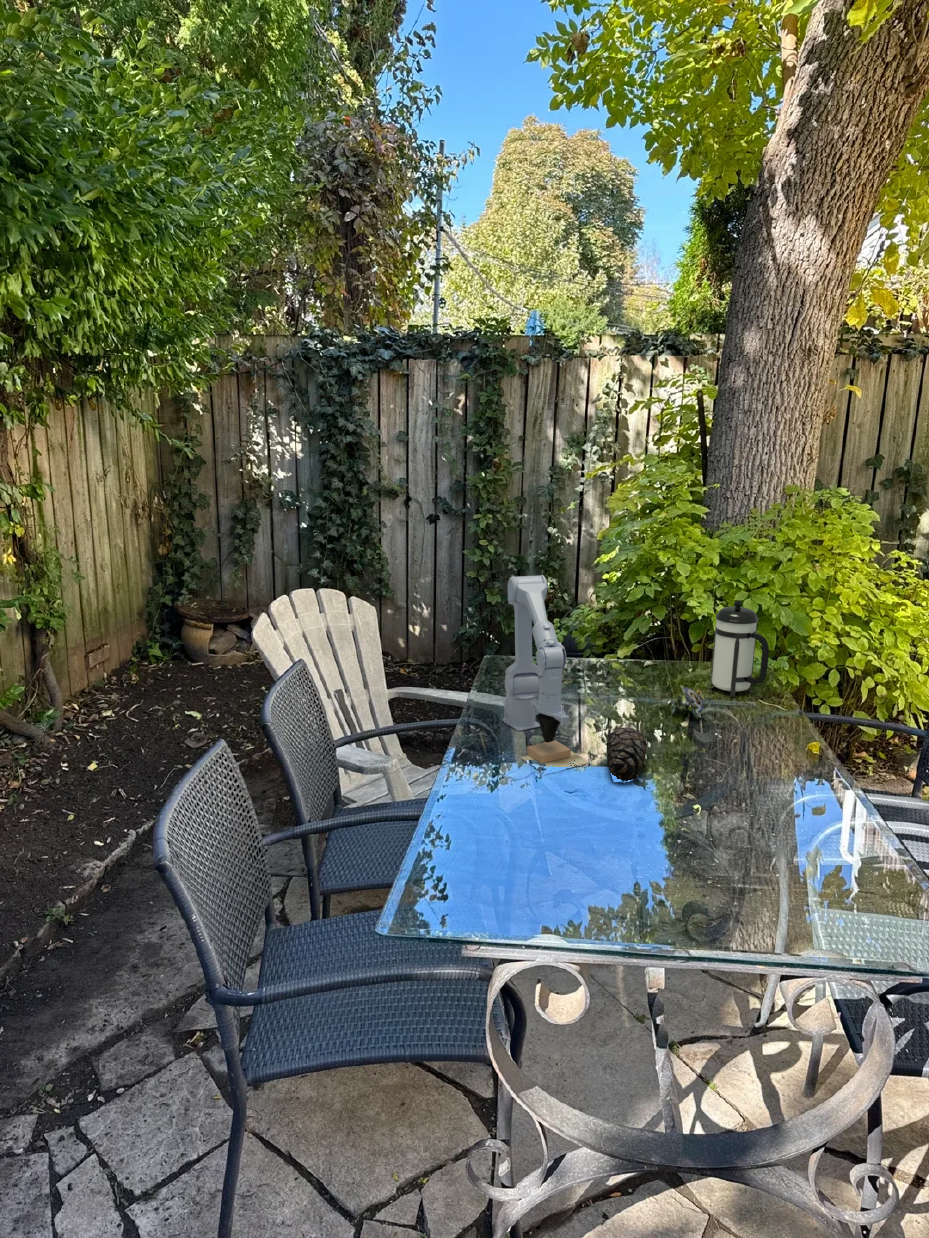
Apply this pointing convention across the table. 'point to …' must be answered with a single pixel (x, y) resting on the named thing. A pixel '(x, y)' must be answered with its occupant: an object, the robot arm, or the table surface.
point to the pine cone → (626, 753)
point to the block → (548, 751)
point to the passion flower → (688, 701)
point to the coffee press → (737, 650)
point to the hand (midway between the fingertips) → (548, 741)
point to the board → (563, 761)
